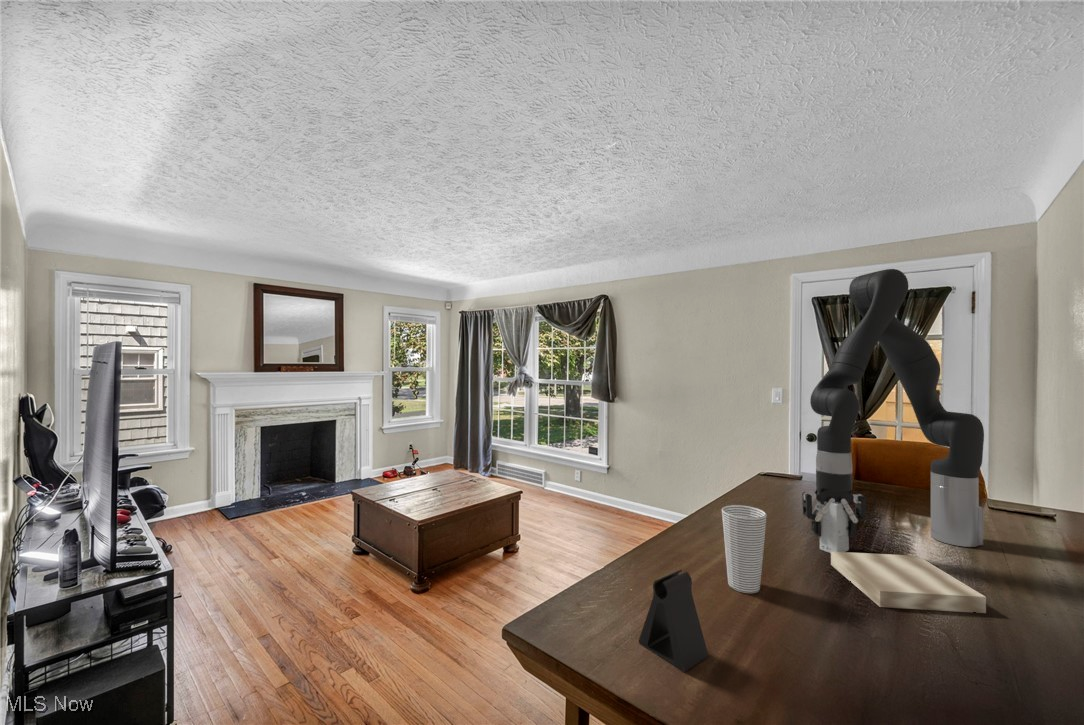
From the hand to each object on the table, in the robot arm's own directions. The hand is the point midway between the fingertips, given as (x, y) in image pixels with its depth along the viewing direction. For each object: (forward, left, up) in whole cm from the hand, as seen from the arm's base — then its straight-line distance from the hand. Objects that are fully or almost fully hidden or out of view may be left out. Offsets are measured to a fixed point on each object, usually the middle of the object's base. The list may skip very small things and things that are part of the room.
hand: (833, 536), depth 112 cm
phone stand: (+46, +45, -4) cm, 64 cm away
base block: (-4, +18, -3) cm, 19 cm away
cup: (+28, +22, -4) cm, 36 cm away
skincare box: (0, 0, -4) cm, 4 cm away
